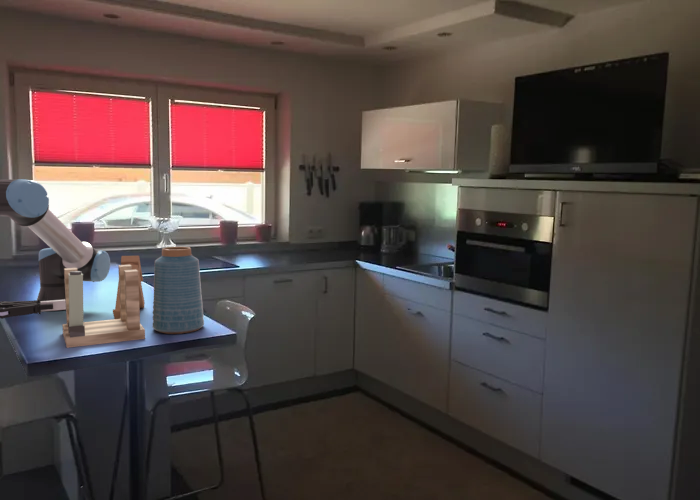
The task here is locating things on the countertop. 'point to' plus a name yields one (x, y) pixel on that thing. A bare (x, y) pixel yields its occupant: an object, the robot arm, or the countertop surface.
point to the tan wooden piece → (136, 265)
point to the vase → (177, 292)
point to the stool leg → (75, 298)
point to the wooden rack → (109, 329)
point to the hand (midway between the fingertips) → (65, 304)
